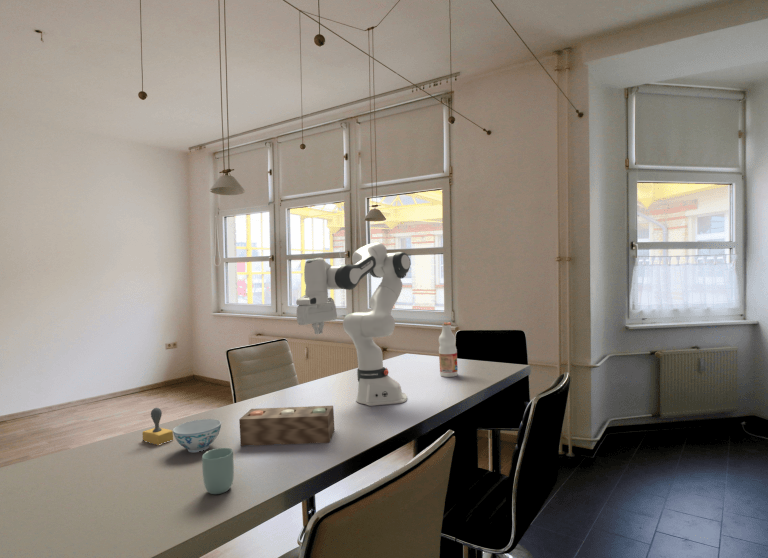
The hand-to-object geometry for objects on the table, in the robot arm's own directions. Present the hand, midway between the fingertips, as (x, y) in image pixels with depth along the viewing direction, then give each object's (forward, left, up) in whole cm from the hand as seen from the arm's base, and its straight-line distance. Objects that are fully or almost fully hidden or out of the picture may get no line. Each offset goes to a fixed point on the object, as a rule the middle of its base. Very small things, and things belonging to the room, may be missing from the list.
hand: (318, 333), depth 179 cm
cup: (+17, +60, -33) cm, 71 cm away
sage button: (-3, +22, -27) cm, 35 cm away
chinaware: (+37, +29, -33) cm, 58 cm away
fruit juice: (-56, -64, -33) cm, 91 cm away
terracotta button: (+19, +22, -27) cm, 40 cm away
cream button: (+8, +22, -27) cm, 36 cm away
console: (+8, +22, -33) cm, 41 cm away
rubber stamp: (+56, +20, -34) cm, 68 cm away
